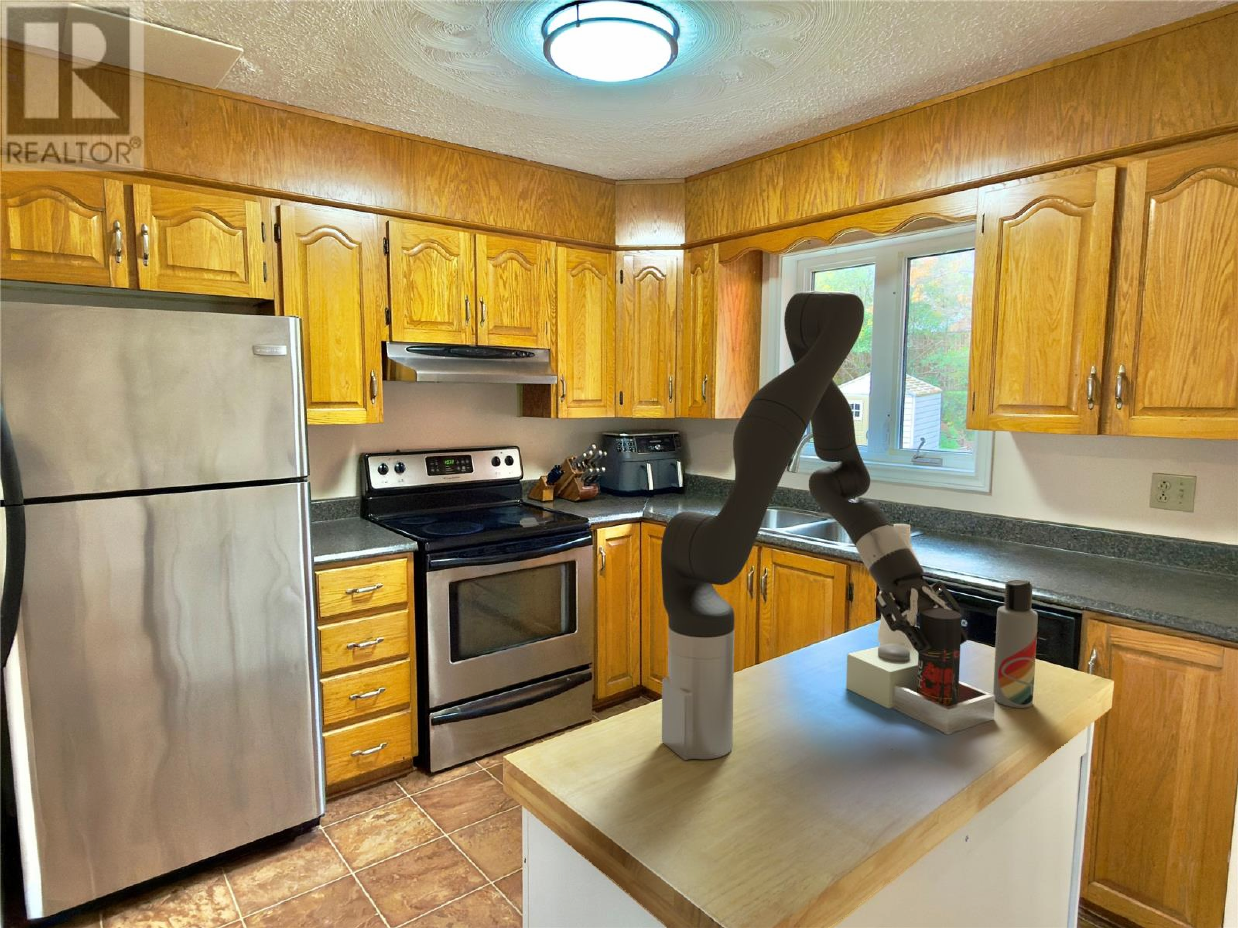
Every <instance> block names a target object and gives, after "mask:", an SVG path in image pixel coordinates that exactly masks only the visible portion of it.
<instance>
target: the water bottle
mask: <svg viewBox="0 0 1238 928" xmlns="http://www.w3.org/2000/svg"><path fill="white" fill-rule="evenodd" d="M892 527H893V528H894V529H895V530H896V531H897V533H898V534H899V535H900V536H901V537H902V539H903V540H904V542H905V543H906V545H907V546H908V548H909V549H910V551H911V552H912V554H913V555H914V557H915V558H916V560H917V561H918V563H919V564H920V561H919V559H918V557H917V555H916V553H915V550H914V549H913V547H912V544H911V539H912V538H913V537H912V535H911V525H910V524H907V523H894V524H893V525H892ZM881 593H882V592H881V590H880V589H879V593H878V595H879V594H881ZM880 615H881V616H880V623H879V626H878V627H879V628H878V630H877V641H878V643H879V646H883V645H888V644H892V643H896V642H898V643H900V644H903V645H906V646H908V647H911V648H914V647H913V646H912V644H911V642H910V641H909V639H908V638H907V636H906V634H905V633H902V632H901V631H899V630H896V631H892V630H891V629H890V628H889V626H888V624H887V622H886V621H885V619H884V617H883V615H882V613H881V612H880ZM892 618H893V620H894V621H895V620H896V619H895V617H894V615H893V614H892ZM916 626H917V624H916V625H915V627H916Z"/></svg>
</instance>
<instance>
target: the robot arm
mask: <svg viewBox="0 0 1238 928" xmlns="http://www.w3.org/2000/svg"><path fill="white" fill-rule="evenodd" d="M783 319H784V320H783V322H784V323H783V324H784V333H785V337H786V341H787V346H788V348H789V352H790V355H791V357H792V361H793V363H794V364H793V365H792V366H790V367H789V368H787V369H785V370H784V371H783V372H780V374H778V375H777V376H775V377H773V378H772V379H771V380H769V381H768V382H767V383H765V384H764V385H763V386H762V387H761V388H759V390H757V392H756V393H755V394H754V395H753V397H752V398H751V400H750V401H749V402H748V404H747V406H746V408H745V410H744V411H743V413H742V415H741V417H740V419H739V420H738V423H737V425H736V427H735V430H734V432H733V439H732V451H733V461H734V462H733V463H734V472H735V473H734V474H735V475H734V481H733V482H734V483H733V485H732V487H731V490H730V493H729V495H728V496H727V499H726V501H725V502H724V504H723V506H722V507H721V509H720V511H719V512H718V514H717V515H716V514H710V513H704V512H698V511H691V510H690V511H687V510H686V511H681V512H678V513H677V514H675V515H673V517H671V518H670V520H668V522H667V524H666V526H665V529H664V532H663V534H662V539H661V545H660V546H661V547H660V548H661V549H660V565H661V566H660V569H661V570H660V571H661V587H662V588H661V589H662V604H663V607H664V609H665V611H666V614H667V619H668V620H667V621H668V622H667V623H668V624H667V625H668V631H667V632H668V633H667V634H668V638H667V639H668V640H667V644H668V646H667V649H668V650H667V653H668V655H667V677H663V678H662V681H661V687H662V688H661V692H662V693H661V742H662V743H663V744H664V745H666V746H667V747H668V748H669V749H670V750H671V751H673V752H674V753H675V754H676V755H678V756H679V757H680V758H681V759H682V760H684V761H688V760H693V759H694V760H712V759H718V758H721V757H724V756H726V755H727V754H728V753H730V752H731V751H732V749H733V745H734V744H733V743H734V741H733V740H734V734H733V733H734V677H735V676H734V675H735V673H734V670H735V669H734V668H735V667H734V665H735V663H734V662H735V661H734V660H735V659H734V658H735V657H734V656H735V621H736V620H735V618H736V617H735V611H734V608H733V607H732V605H730V604H729V603H728V601H726V600H725V599H724V598H723V597H722V596H721V595H720V594H719V593H718V592H717V590H716V589H715V586H714V585H716V586H725V585H728V584H730V583H731V582H733V581H734V580H735V579H737V577H738V576H739V575H740V573H741V572H742V570H743V569H744V567H745V566H746V564H747V562H748V560H749V557H750V555H751V553H752V550H753V547H754V545H755V542H756V540H757V537H758V535H759V533H760V529H761V526H762V524H763V521H764V518H765V515H766V514H767V511H768V509H769V505H770V504H771V501H772V500H773V499H772V498H773V496H774V494H775V492H776V490H777V488H778V487H779V483H780V481H781V480H782V477H783V475H784V474H785V473H784V472H785V471H786V469H787V467H788V465H789V463H790V462H791V460H792V458H793V456H794V455H795V452H796V450H798V446H799V445H800V444H801V441H802V439H803V437H804V435H805V433H806V432H807V429H808V427H809V424H811V425H810V426H811V433H812V440H813V448H814V452H815V454H816V456H817V458H819V460H821V461H824V462H827V463H833V464H831V465H828V466H826V467H823V468H820V469H817V470H815V471H814V472H812V474H811V475H810V477H809V480H808V490H809V493H810V494H811V496H812V498H813V501H815V503H817V504H818V506H819V507H821V508H822V509H823V510H824V511H825V512H826V513H827V514H828V515H830V516H831V517H832V519H834V520H835V521H836V522H837V523H838V524H839V525H840V526H841V528H843V529H844V531H845V532H846V534H847V536H848V538H850V540H851V542H852V544H853V545H854V547H855V548H856V550H857V552H858V555H859V557H860V559H861V560H862V563H863V564H864V566H865V567H866V569H867V571H868V572H869V574H870V575H871V577H872V579H873V581H874V582H875V583H876V585H877V587H878V588H879V591H880V590H881V592H882V593H881V594H879V593H878V595H877V596H876V597H875V598H874V602H875V605H876V606H877V608H878V609H879V612H880V614H881V613H882V615H883V617H884V619H885V621H886V622H887V624H888V626H889V628H890V629H891V630H892V631H896V630H899V631H901V632H902V633H905V634H906V636H907V638H908V639H909V641H910V642H911V644H912V646H913V647H914V649H915V650H916V651H917V652H918V653H919V654H923V653H926V652H927V651H928V650H930V648H931V646H930V644H929V643H928V641H927V639H926V638H925V636H924V635H923V633H922V632H921V630H920V628H919V625H918V626H917V616H918V615H919V616H920V610H922V609H925V608H943V609H949V610H953V611H956V612H958V613H960V614H961V613H962V611H963V610H962V608H961V606H960V605H959V604H958V602H957V601H956V600H955V599H956V598H954V597H953V595H952V594H951V593H950V591H949V589H947V587H946V586H945V584H944V583H943V582H942V581H940V580H937V581H936V582H935V583H933V584H930V585H929V583H927V582H926V580H925V579H924V572H925V571H924V568H923V567H922V566H921V564H920V562H919V563H918V561H919V560H918V561H917V560H916V558H915V557H914V555H913V554H912V552H911V551H910V549H909V548H908V546H907V545H906V543H905V542H904V540H903V539H902V537H901V536H900V535H899V534H898V533H897V531H896V530H895V529H894V527H893V525H892V523H891V522H890V521H889V519H888V518H887V516H886V514H885V513H884V511H883V510H882V508H881V507H880V506H879V505H878V504H877V503H876V502H873V501H861V502H852V501H850V500H853V499H856V498H859V497H861V496H863V495H864V494H866V493H867V492H868V491H869V488H870V486H871V475H870V473H869V470H868V469H867V466H866V465H865V462H864V460H863V458H862V457H861V453H860V450H859V448H858V445H857V444H858V443H857V440H856V438H857V437H856V430H855V421H854V420H855V419H854V414H853V411H852V408H851V405H850V404H849V402H848V400H847V398H846V396H845V395H844V393H843V391H842V390H841V389H840V388H839V386H838V384H836V382H835V381H834V377H835V375H836V374H837V373H838V371H839V370H840V368H841V366H842V365H843V363H844V362H845V361H846V359H847V357H848V356H849V355H850V353H851V351H852V349H853V348H854V346H855V344H856V342H857V340H858V339H859V337H860V334H861V331H862V328H863V325H864V319H865V307H864V303H863V301H862V298H861V297H859V296H858V295H857V294H856V293H853V292H848V291H842V290H804V291H798V292H797V293H794V294H793V295H792V296H791V298H790V299H789V300H788V303H787V304H786V306H785V311H784V318H783ZM934 604H935V605H934ZM947 604H948V605H950V607H951V608H950V607H949V606H948V605H947ZM892 614H893V615H894V617H895V619H896V620H895V621H894V620H893V618H892ZM915 625H916V627H915ZM968 638H969V637H968V636H967V633H966V631H965V630H964V628H963V626H961V645H963V644H964V643H966V642H967V641H968V640H969V639H968Z"/></svg>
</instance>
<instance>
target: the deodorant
mask: <svg viewBox="0 0 1238 928" xmlns="http://www.w3.org/2000/svg"><path fill="white" fill-rule="evenodd" d="M962 617H963V616H962V614H961V612H960V613H958V612H956V611H953V610H949V609H943V608H925V609H922V610H920V615H919V624H918V627H919V628H920V630H921V632H922V633H923V635H924V636H925V638H926V639H927V641H928V643H929V644H930V646H931V648H930V650H928V651H927V652H926V653H923V654H919V653H918V676H917V693H918V694H921V695H923V696H925V697H927V698H930V699H932V700H934V701H936V702H939V703H941V704H943V705H946V706H951V705H954V704H957V703H958V691H959V681H960V664H961V663H960V662H961V645H962V644H961V627H962Z"/></svg>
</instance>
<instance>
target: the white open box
mask: <svg viewBox="0 0 1238 928" xmlns="http://www.w3.org/2000/svg"><path fill="white" fill-rule="evenodd" d="M995 704H996V700H995V695H993V693H991V692H987V691H985V690H983V689H980V688H978V687H975V686H973V685H970V684H967V683H966V682H963V681H960V680H959V691H958V703H957V704H954V705H951V706H946V705H943V704H941V703H939V702H936V701H934V700H932V699H930V698H927V697H925V696H923V695H921V694H918V693H916V692H914V691H911V690H909V689H907V688H905V687H902V686H900V685H898V684H893V688H892V708H891V709H893V710H896V711H897V712H900V713H902V714H904V715H906V716H908V717H911V718H912V719H915V720H916V721H918V722H921V723H923V724H924V725H927V726H929V727H931V728H933V729H934V730H937V729H938V730H937V731H939V730H940V732H941V733H943V732H944V733H943V734H946V735H952V734H954V733H956V732H959V731H963V730H965V729H968V728H972V727H974V726H977V725H980V724H983V723H986V722H987V723H988V722H989V721H992V720H995ZM953 732H954V733H953Z"/></svg>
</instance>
